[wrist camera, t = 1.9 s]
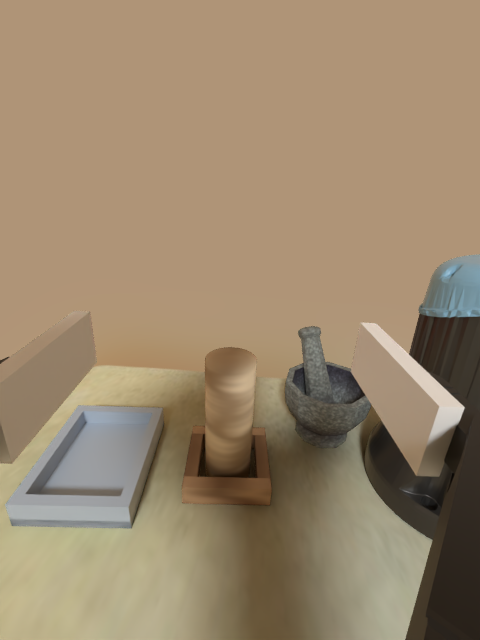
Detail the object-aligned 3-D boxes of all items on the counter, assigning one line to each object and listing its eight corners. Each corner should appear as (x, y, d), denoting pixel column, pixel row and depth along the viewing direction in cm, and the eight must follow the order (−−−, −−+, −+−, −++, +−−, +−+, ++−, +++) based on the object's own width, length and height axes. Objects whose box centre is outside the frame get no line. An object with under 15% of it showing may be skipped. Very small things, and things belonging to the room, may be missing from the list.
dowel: (249, 452, 36) (255, 348, 31) (250, 488, 31) (258, 373, 26) (207, 451, 36) (207, 346, 31) (203, 487, 31) (202, 372, 26)
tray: (164, 424, 39) (163, 407, 38) (131, 528, 27) (128, 507, 26) (81, 422, 39) (78, 405, 38) (12, 525, 27) (4, 504, 26)
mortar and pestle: (379, 449, 37) (403, 357, 32) (308, 470, 34) (324, 371, 29) (323, 394, 47) (335, 317, 42) (264, 406, 43) (271, 324, 39)
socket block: (263, 441, 37) (264, 427, 37) (270, 505, 30) (271, 489, 29) (193, 439, 37) (193, 425, 36) (182, 503, 30) (181, 487, 29)
